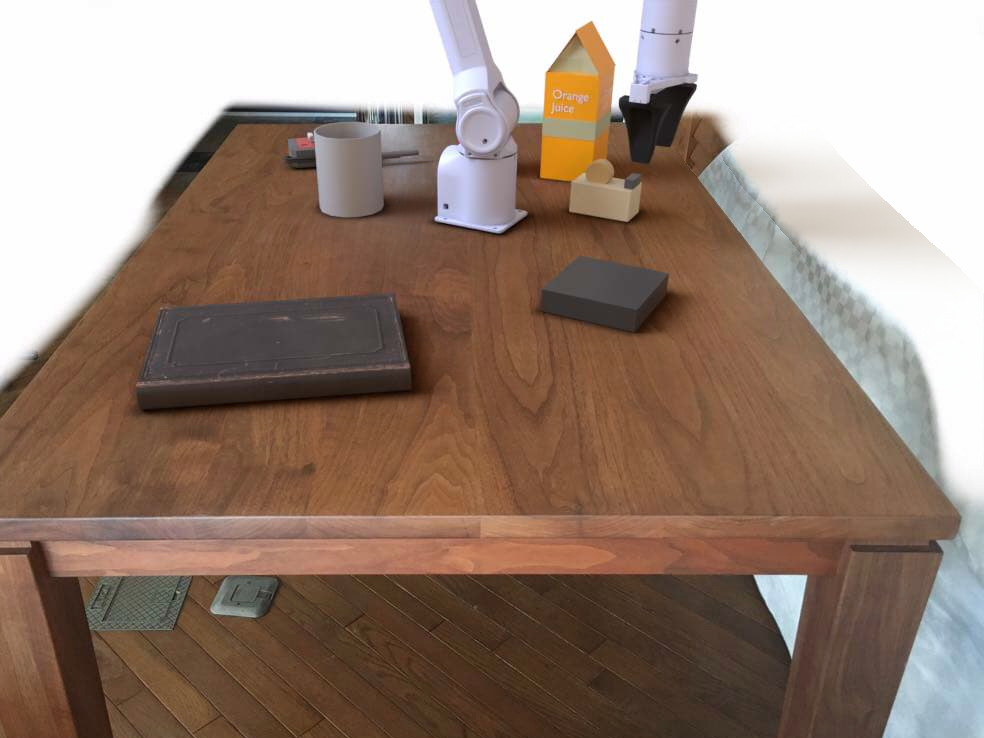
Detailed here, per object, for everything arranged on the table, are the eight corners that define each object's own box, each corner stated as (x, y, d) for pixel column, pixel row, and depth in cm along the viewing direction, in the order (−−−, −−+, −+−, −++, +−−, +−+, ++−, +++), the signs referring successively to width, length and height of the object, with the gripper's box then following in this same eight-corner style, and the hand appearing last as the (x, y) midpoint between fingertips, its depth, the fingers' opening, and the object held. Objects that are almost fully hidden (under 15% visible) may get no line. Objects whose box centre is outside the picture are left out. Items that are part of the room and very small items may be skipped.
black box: (540, 311, 92) (541, 288, 91) (577, 276, 99) (579, 255, 98) (634, 332, 88) (637, 309, 86) (666, 295, 95) (669, 273, 94)
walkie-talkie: (286, 174, 131) (420, 163, 135) (283, 143, 129) (419, 134, 133) (281, 157, 139) (408, 148, 143) (278, 128, 136) (407, 119, 140)
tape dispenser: (568, 211, 117) (572, 161, 114) (581, 202, 120) (585, 153, 117) (627, 222, 114) (633, 170, 110) (638, 212, 117) (644, 161, 113)
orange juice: (539, 177, 129) (546, 28, 119) (556, 160, 136) (565, 18, 126) (592, 184, 127) (604, 32, 116) (607, 166, 134) (620, 22, 123)
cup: (308, 212, 117) (301, 135, 112) (338, 193, 124) (333, 119, 119) (366, 220, 115) (362, 141, 109) (393, 200, 121) (391, 125, 116)
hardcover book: (164, 328, 89) (160, 307, 88) (395, 313, 92) (394, 292, 90) (139, 413, 76) (134, 390, 74) (411, 393, 78) (411, 370, 77)
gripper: (682, 44, 92) (664, 175, 99) (720, 23, 103) (702, 143, 110) (616, 38, 95) (604, 165, 102) (660, 18, 106) (647, 135, 113)
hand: (651, 153), depth 106 cm, fingers open, 7 cm apart
